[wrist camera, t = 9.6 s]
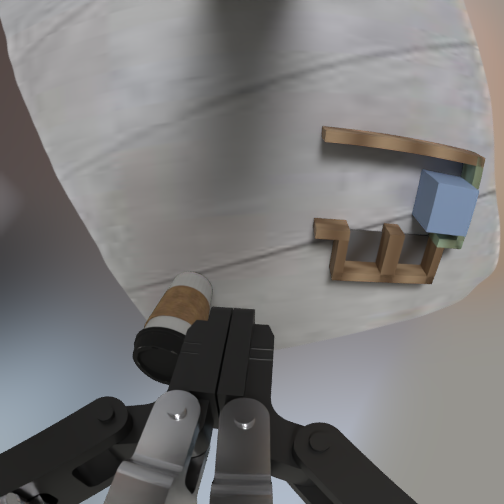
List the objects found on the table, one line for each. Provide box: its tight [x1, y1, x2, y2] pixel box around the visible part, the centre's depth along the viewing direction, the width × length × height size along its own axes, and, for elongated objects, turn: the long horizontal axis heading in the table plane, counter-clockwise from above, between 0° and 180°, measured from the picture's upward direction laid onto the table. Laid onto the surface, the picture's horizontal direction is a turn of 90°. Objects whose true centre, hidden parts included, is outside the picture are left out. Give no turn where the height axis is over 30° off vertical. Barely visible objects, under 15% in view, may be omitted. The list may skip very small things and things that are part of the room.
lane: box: [313, 126, 485, 284], centre depth 35 cm, size 20×18×3 cm
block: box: [412, 169, 479, 237], centre depth 32 cm, size 6×6×5 cm
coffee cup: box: [133, 272, 212, 385], centre depth 39 cm, size 8×8×15 cm
